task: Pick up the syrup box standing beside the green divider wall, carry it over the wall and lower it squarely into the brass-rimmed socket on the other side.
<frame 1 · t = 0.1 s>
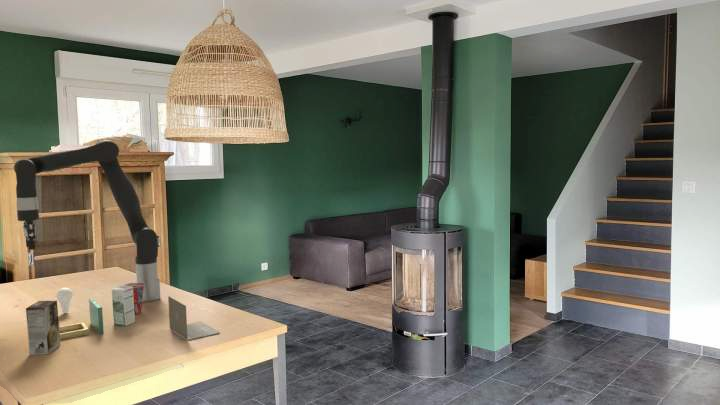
hand: (30, 248, 222), 29 cm above the table, tool pointing down, fingers open, 8 cm apart
lightbulb: (65, 313, 231), on the table
syrup box: (124, 323, 215), on the table
cup: (134, 313, 230), on the table
laptop: (194, 332, 203), on the table
lock bracket: (97, 328, 209), on the table
coffee box: (45, 350, 187), on the table
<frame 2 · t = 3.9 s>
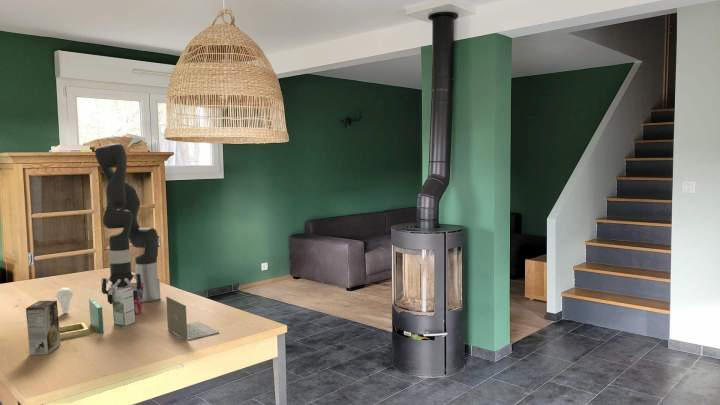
hand: (122, 301, 214), 9 cm above the table, tool pointing down, fingers open, 8 cm apart
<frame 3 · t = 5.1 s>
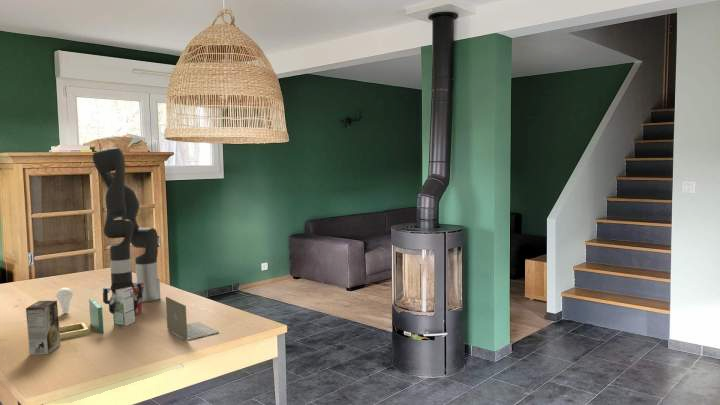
hand: (123, 311, 215), 5 cm above the table, tool pointing down, fingers closed on syrup box, 7 cm apart
syrup box: (124, 323, 215), on the table, touching gripper
everything else where it was.
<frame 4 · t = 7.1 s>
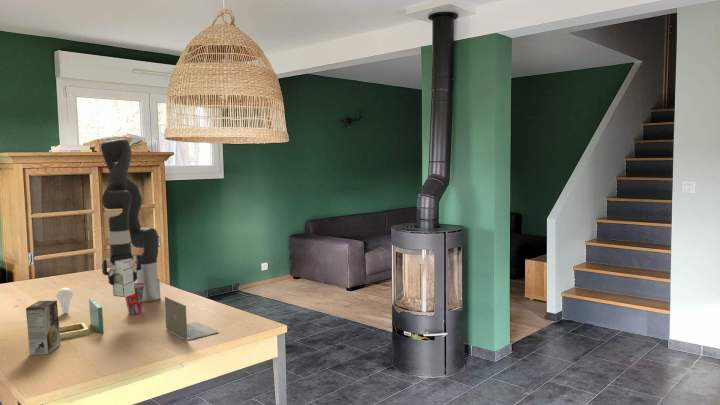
hand: (123, 283, 214), 16 cm above the table, tool pointing down, fingers closed on syrup box, 7 cm apart
syrup box: (124, 295, 214), point 11 cm above the table, touching gripper
everything else where it was.
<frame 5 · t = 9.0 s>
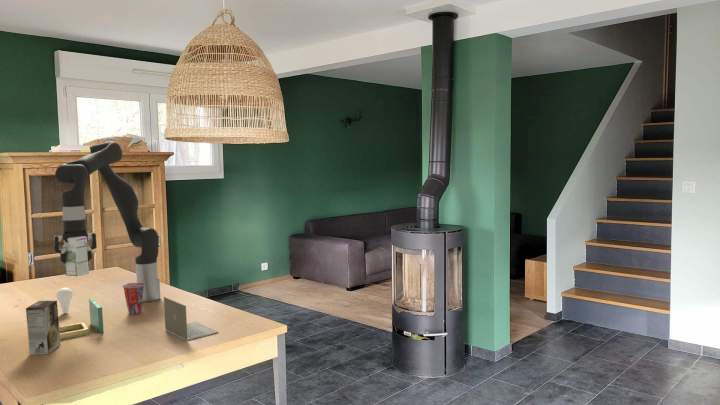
hand: (76, 262, 203), 27 cm above the table, tool pointing down, fingers closed on syrup box, 7 cm apart
syrup box: (77, 275, 204), point 22 cm above the table, touching gripper
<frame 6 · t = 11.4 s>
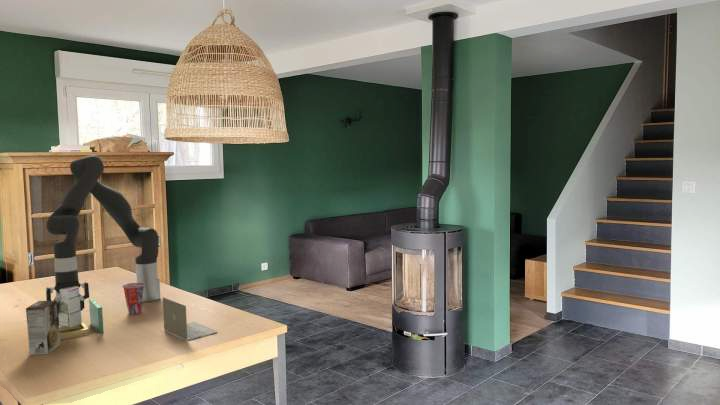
hand: (69, 312, 203), 8 cm above the table, tool pointing down, fingers closed on syrup box, 7 cm apart
syrup box: (70, 325, 204), point 3 cm above the table, touching gripper
when the fingers open (6 cm above the table, at t = 12.8 s): syrup box drops 1 cm, resting in lock bracket.
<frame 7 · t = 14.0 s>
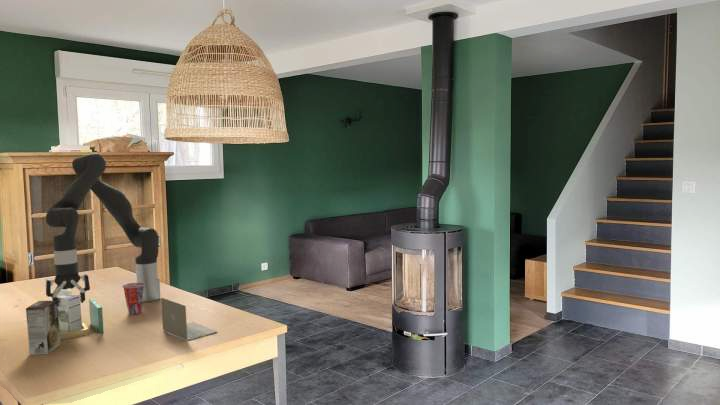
hand: (69, 304, 203), 11 cm above the table, tool pointing down, fingers open, 8 cm apart
syrup box: (71, 334, 204), resting in lock bracket, touching gripper
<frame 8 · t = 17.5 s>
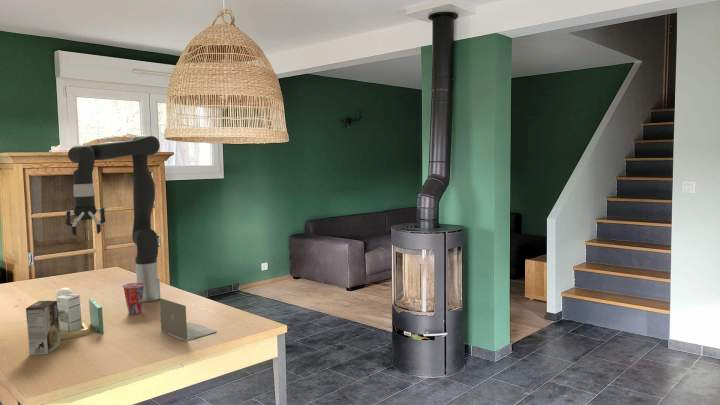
hand: (86, 234, 223), 34 cm above the table, tool pointing down, fingers open, 8 cm apart
syrup box: (70, 334, 204), resting in lock bracket
at the end: syrup box 0.1 cm from the target spot, resting in lock bracket; syrup box tilted 0°; the gripper is holding nothing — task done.
